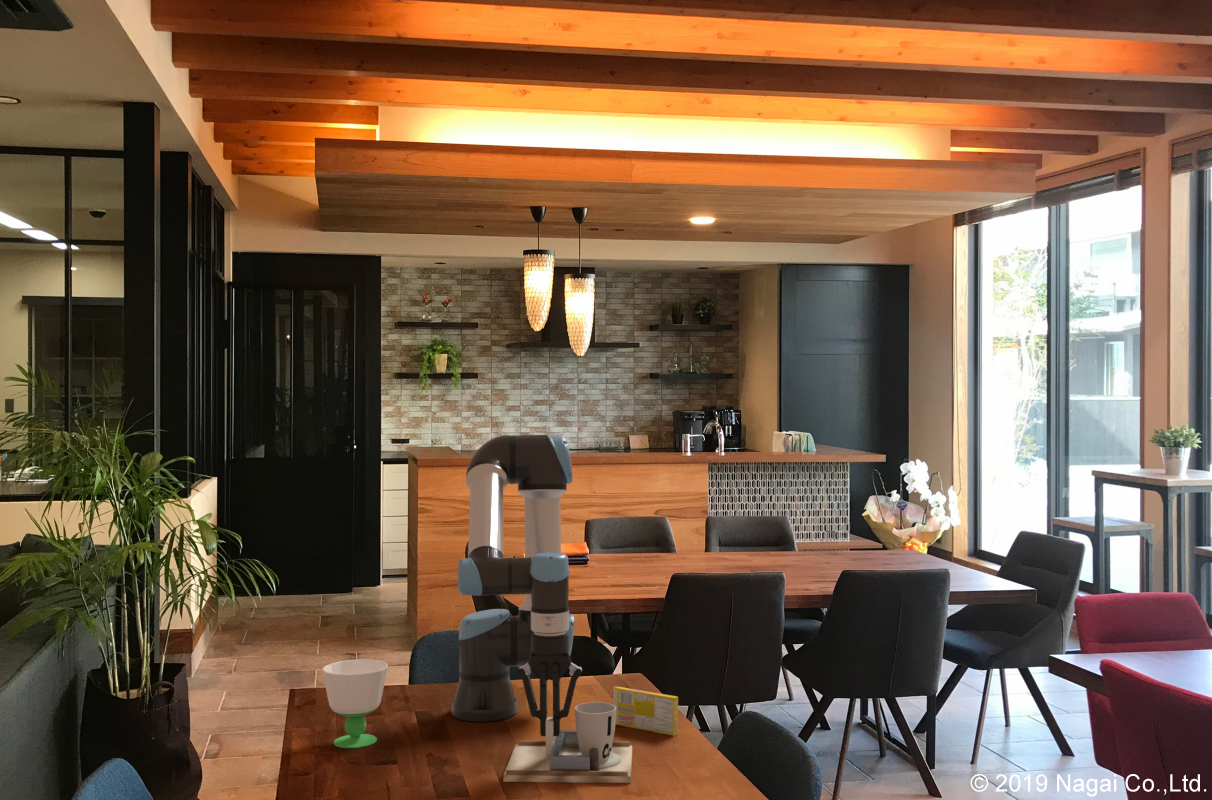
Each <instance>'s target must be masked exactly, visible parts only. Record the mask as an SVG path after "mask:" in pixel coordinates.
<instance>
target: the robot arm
mask: <svg viewBox="0 0 1212 800" xmlns="http://www.w3.org/2000/svg"><path fill="white" fill-rule="evenodd" d="M571 457H572V456H571V452H570V447H569V443H568V441H567V439H566V438H565V437H564V436H562V435H554V434H528V435H527V434H526V435H525V434H524V435H523V434H522V435H521V434H520V435H519V434H518V435H510V434H504V435H498V436H496V437H493V438H491V439H489V440H488V441H486V442H485V443H484V444H482V445H481V446H480V447H479V448H478V449H477V450H476V452H475V453H474V454H473V455H472V457H470V460H469V462H468V465H467V468H466V472H465V473H466V474H465V481H466V482H465V483H466V486H467V488H468V489H469V490H470V491H469V513H468V514H469V516H468V517H469V519H468V520H469V521H468V548H467V549H468V551H467V554H468V555H467V557H466V558H460V560H458V565H457V567H458V568H457V589H458V592H459V593H460V594H461V595H462V596H476V597H481V596H497V595H498V596H500V595H503V596H504V595H524V601H523V602H522V603H521V604H520V606H518V615H511V613H510V611H509V610H508V609H506V608H492V609H486V610H480V611H475V612H472V613H469V614H467V615H466V616H464V617H463V618H462V619H461V620H460V622H459V633H458V634H459V635H458V641H459V657H458V658H459V664H458V665H459V675H458V676H459V681H458V683H457V687H456V691H455V695H454V699H453V701H452V703H451V715H452V716H453V717H454V718H455V719H458V720H460V721H461V720H462V721H467V722H483V723H484V722H493V721H494V722H496V721H500V720H505V719H508V718H510V717H511V718H512V717H513V716H515V715H516V714H517V713H518V701H517V698H516V695H515V692H514V691H515V690H514V689H513V685H512V682H511V677H510V668H512V667H513V668H514V667H515V668H516V667H517V668H518V669H517V672H516V673H517V675H518V676H519V677H520V679H521V680H522V683H523V687H524V691H525V696H526V701H527V704H528V709H529V712H530V716H531V717H532V718H536V719H538V720H539V729H540V730H539V733H540V737H545V741H546V755H550V754H551V751H552V748H553V744H554V741H555V737H556V736H559V733H560V730H561V719H563V718H568V717H569V713H570V710H571V709H570V708H571V706H572V701H573V696H574V694H575V693H574V692H575V689H576V685H577V681H578V679H579V677H580V676H581V675H582V672H583V668H582V666H580V665H579V666H578V665H577V664H575V663H573V662H572V661H573V660H572V658H571V654H572V649H573V643H574V633H575V616H574V615H573V614H572V613H570V610H569V589H570V583H569V582H570V581H569V580H570V579H569V578H570V567H569V557H568V555H566V553H563V552H562V550H561V549H562V543H561V542H562V541H561V537H562V535H561V533H562V530H561V529H562V527H561V526H562V525H561V524H562V523H561V521H562V520H561V510H562V509H561V498H562V497H563V496H564V495H565V493H567V491H568V490H567V485H570V484H572V483H573V479H574V478H573V467H572V466H573V465H572V458H571ZM508 484H509V485H517V492H518V494H519V495H521V496H522V497H523V498H524V499H523V500H524V557H505V555H504V554H505V548H504V547H505V546H504V545H505V544H504V543H505V542H504V540H505V539H504V535H505V534H504V521H505V520H504V490H505V489H506V487H507V486H508ZM568 669H569V676H570V679H569V684H568V686H567V692H566V696H565V700H564V704H563V708H562V709H561V679H562V678H563V677H564V676H565V674H566V672H567V671H568ZM531 670H532V671H533V673H534V674H535V676H536V678H537V679H539V708H538V704H537V699H536V695H535V692H534V688H533V684H532V683H533V682H532V680H531V673H532V672H531ZM549 680H550V681H552V716H548V681H549Z"/></svg>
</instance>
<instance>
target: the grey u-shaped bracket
mask: <svg viewBox="0 0 1212 800" xmlns="http://www.w3.org/2000/svg"><path fill="white" fill-rule="evenodd" d="M565 747H572V748H579V743H578V737H577V731H576V729H573V730H572V729H571V730H570V729H560V733H559V736H555V741H554V744H553V748H552V751H551V754H550V770H555V771H590V755H563V754H564V750H565Z"/></svg>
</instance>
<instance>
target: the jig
mask: <svg viewBox="0 0 1212 800" xmlns="http://www.w3.org/2000/svg"><path fill="white" fill-rule="evenodd" d="M630 744H631V741H622V740H621V741H614V740H613V745H612V749H611V752H610V756H609V759H608V760H607V761H605V762H601V763H599V749H598V748H591V749H589V755H590V771H555V770H550V755H546V740H522V739H521V740H518V741H517V743H516V744H515V746H514V748H513V751H512V753H511V755H510V758H509V760H508V763H507V765H506V768H505V771H504V772H503V776H502V777H503V779H502V780H503V781H502V782H503V783H504V782H505V783H506V782H507V783H508V782H514V783H515V782H517V783H518V782H519V783H520V782H521V783H523V782H524V783H525V782H526V783H594V784H596V783H599V784H602V783H603V784H604V783H605V784H609V783H610V784H611V783H612V784H631V783H632V781H631V780H632V762H633V761H632V760H633V745H630ZM563 755H582V754H581V751H580V748H572V747H565V750H564V754H563Z"/></svg>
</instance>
